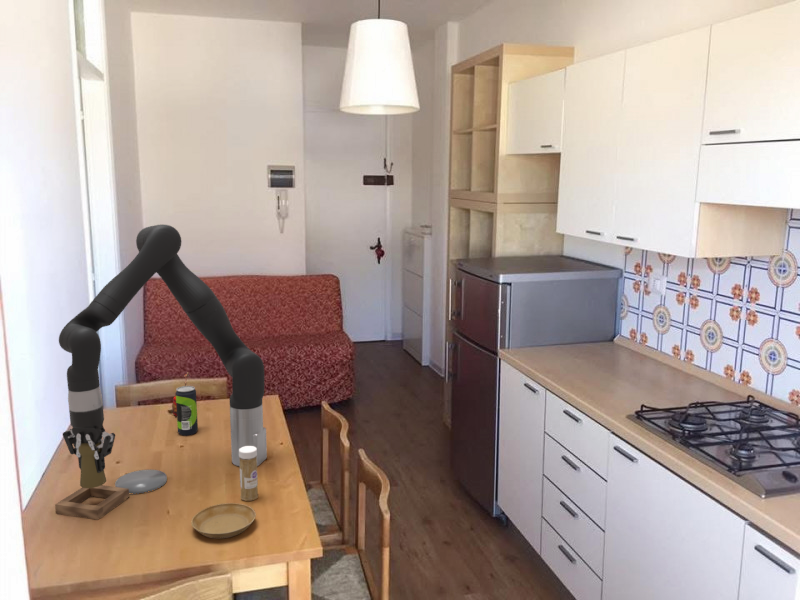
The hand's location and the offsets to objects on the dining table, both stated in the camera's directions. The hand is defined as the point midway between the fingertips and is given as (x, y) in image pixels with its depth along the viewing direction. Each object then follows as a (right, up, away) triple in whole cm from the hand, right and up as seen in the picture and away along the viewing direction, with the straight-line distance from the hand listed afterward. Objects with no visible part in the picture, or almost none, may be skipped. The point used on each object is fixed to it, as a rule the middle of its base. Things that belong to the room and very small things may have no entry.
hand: (92, 470), depth 167 cm
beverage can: (+8, -1, +50) cm, 51 cm away
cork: (0, -3, +1) cm, 4 cm away
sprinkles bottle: (+38, -9, +6) cm, 39 cm away
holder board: (0, -9, +2) cm, 9 cm away
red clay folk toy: (+1, +2, +67) cm, 67 cm away
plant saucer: (+35, -12, -8) cm, 38 cm away
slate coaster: (+7, -7, +14) cm, 17 cm away
